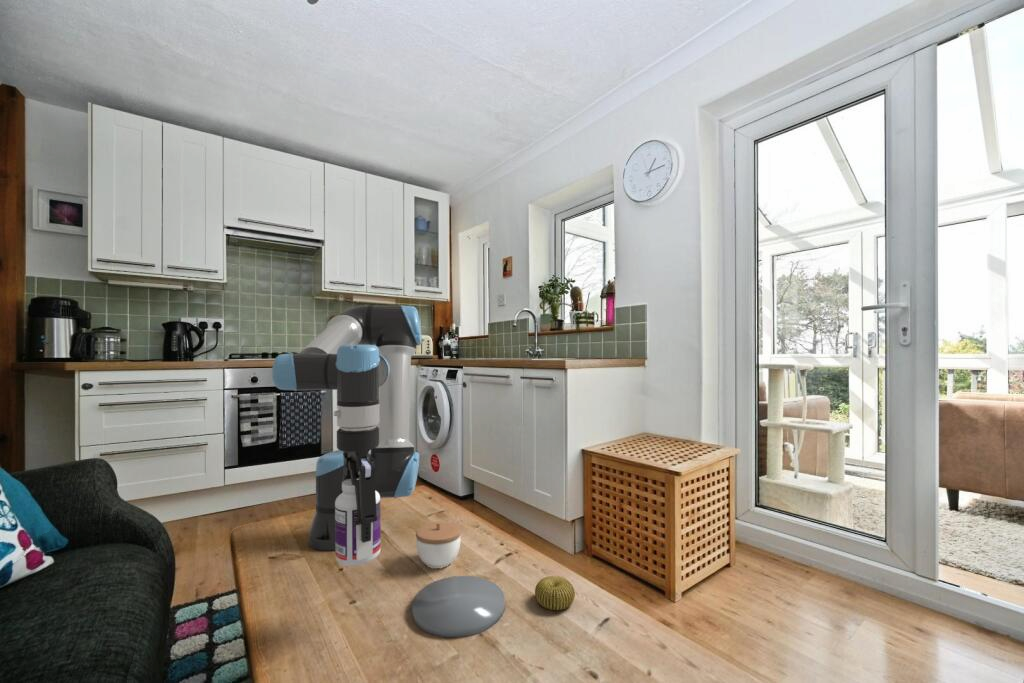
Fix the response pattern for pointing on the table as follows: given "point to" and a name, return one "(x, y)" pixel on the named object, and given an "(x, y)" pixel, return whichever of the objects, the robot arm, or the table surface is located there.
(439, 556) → the lidded jar
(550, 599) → the green barrel cactus
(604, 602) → the table surface
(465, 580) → the grey plate
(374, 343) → the robot arm
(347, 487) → the pill bottle
